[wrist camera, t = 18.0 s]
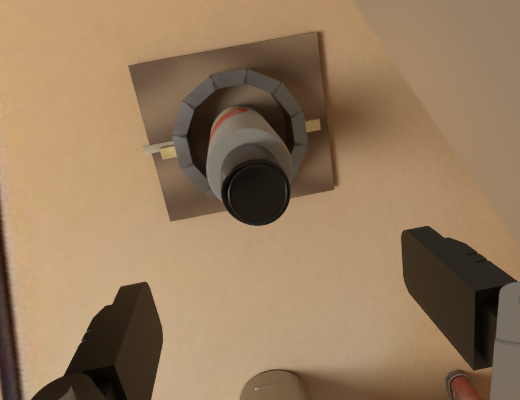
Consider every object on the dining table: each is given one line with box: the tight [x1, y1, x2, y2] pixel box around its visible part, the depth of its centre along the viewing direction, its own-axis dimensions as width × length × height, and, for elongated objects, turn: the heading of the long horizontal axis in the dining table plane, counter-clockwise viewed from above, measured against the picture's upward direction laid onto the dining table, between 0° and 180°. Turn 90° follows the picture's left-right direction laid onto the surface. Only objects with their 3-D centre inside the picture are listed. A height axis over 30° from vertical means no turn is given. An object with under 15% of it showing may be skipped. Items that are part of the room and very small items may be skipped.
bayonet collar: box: [160, 68, 321, 199], centre depth 37 cm, size 12×15×4 cm
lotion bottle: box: [206, 105, 293, 226], centre depth 30 cm, size 6×6×20 cm
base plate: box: [128, 32, 334, 222], centre depth 40 cm, size 16×19×1 cm
